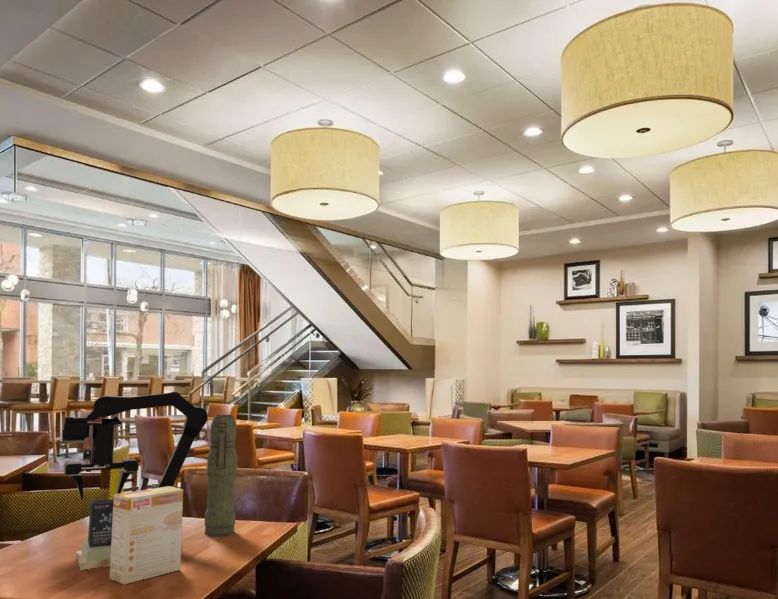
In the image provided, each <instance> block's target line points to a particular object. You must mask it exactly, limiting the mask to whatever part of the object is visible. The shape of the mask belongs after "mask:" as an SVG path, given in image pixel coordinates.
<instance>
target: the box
mask: <svg viewBox="0 0 778 599" xmlns="http://www.w3.org/2000/svg"><path fill="white" fill-rule="evenodd" d="M113 501H114V498H112V499H111V498H110V499H100V500H90V503H89V517H88V518H89V520H88V534H87V541H88V543H89V546H90V547H91V546H98V545H108V544H111V541H112V520H113Z"/></svg>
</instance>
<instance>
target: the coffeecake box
mask: <svg viewBox="0 0 778 599" xmlns="http://www.w3.org/2000/svg"><path fill="white" fill-rule="evenodd" d="M113 499H114V501H113V520H112V541H111V561H110V567H109V580H111V579H112V580H111V581H113V580H115V581H114V582H116V581H117V583H119V584H122V585H123V586H124V585H127V584H132V583H136V582H139V581H143V579H144V580H147V579H150V578H155V577H159V576H162V575H165V574H166V573H167V574H170V572H171V573H173V572H174V571H175V572H177V571H178V570H179V571H181V559H182V558H181V557H182V556H181V555H182V532H183V508H184V507H183V506H184V489H183V488H179V487H174V486H173V487H171V486H167V487H161V488H154V489H151V488H149V489H142V490H135V491H129V492H123V493H122V492H121V493H120V494H117V493H115V494H113ZM167 574H166V575H167Z"/></svg>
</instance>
